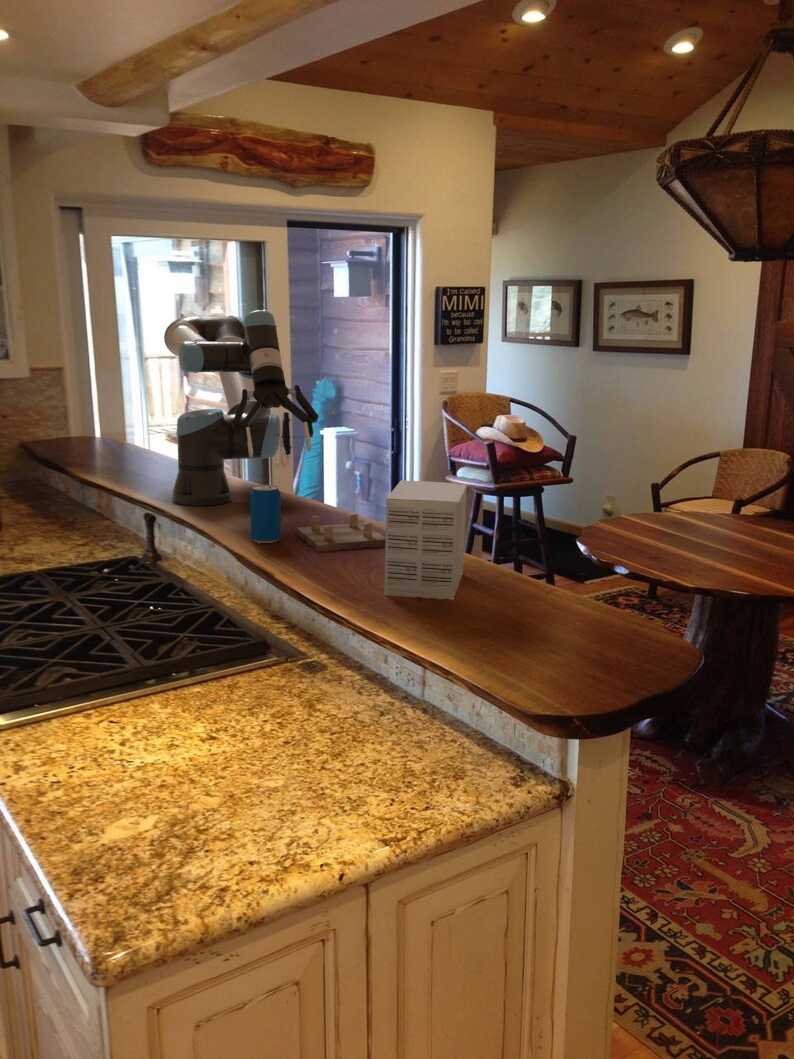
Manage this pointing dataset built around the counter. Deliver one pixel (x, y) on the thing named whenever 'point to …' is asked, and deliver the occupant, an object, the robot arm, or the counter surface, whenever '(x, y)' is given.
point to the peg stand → (341, 535)
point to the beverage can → (265, 513)
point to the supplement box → (425, 539)
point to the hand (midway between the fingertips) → (280, 452)
